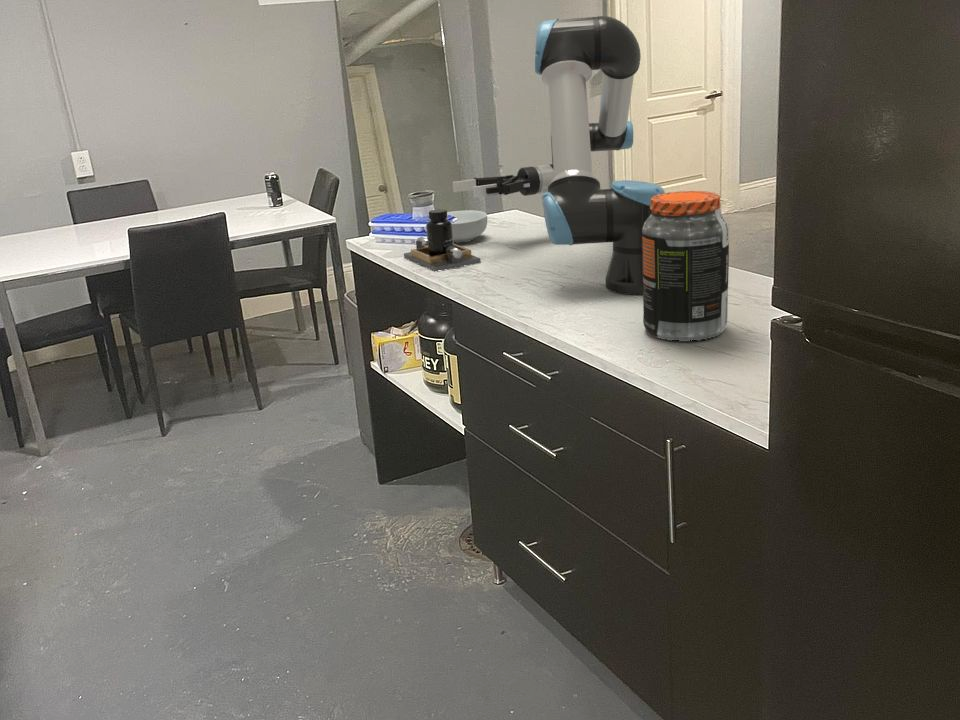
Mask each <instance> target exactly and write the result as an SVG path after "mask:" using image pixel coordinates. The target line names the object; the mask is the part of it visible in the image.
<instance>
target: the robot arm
mask: <svg viewBox="0 0 960 720" xmlns="http://www.w3.org/2000/svg"><path fill="white" fill-rule="evenodd" d="M534 54H535V56H534V73H535V74H537V75H540V76H541V82H543V83H544V85H546V86H548V96H549V98H548V100H549V114H550V142H551V143H550V144H551V149H550V150H551V163H550V164H540V165H534V166H527V167H526V166H525V167H521V168H519V170H518V171H517V174H516V175H514V174H509V175H501V176H489V177H473V179H466V180H465V179H464V180H460V181H459V180H458V181H452V190H453V193H460V192H466V191H472V193H473V194H472V195H473V198H474V199H475V198H481V197H488V196H489V197H490V196H496V195H504V196H508V195H512V194H515V193H518V192H519V193H520V194H521V195H522V196H532V195H533V196H534V195H537V194H542V195H541V199H542V200H541V202H542V208H543V214H544V215H543V216H544V222H545V226H546V231H547V234H548V238H549V241H550V242H551V243H553V245H556V246H560V245H561V246H562V245H563V246H564V245H565V246H566V245H567V246H573V245H583V244H584V245H585V244H599V243H600V244H601V243H602V244H603V243H612V255H611V258H610V262H609V263H608V264H609V265H608V268H607V271H606V275H605V288H606V289H607V290H608V291H610V292H613V293H618V294H621V295H622V294H623V295H643V251H642V229H643V225H644V223H645V221H646V220H647V218H648V217H649V216H650V215H651V213H652V211H651V209H650V206H651V198H652V197H653V196H655V195H658V194H663V193H666V192H665V189H664V188H663V187H662V186H660V184H659V185H658V184H657V183H652V182H648V181H643V180H640V181H639V180H630V179H629V180H628V179H627V180H626V179H625V180H614V181H612V183H611V185H610V188H605V189H601V183H600V182H601V181H600V180H599V179H598V178H597V177H596V176H594V175H593V165H592V152H607V151H608V152H609V151H620V150H629V149H631V148H632V147H633V145H634V124H633V123H632V121H631V120H628V119H629V111H630V105H631V100H632V99H631V97H632V91H633V84H634V76H635V75H636V74H637V72H638V71H639V70H640V69H639V68H640V65H641V63H640V62H641V59H642V58H641V57H642V56H641V48H640V45H639V41H638V40H637V38H636V36H635V34H634V33H633V31H632V30H631V29H630V28H629V27H628V26H627V24H625V23H624V22H622V21H621V20H619V19H617V18H615V17H612V16H607V15H598V16H588V17H578V18H577V17H576V18H575V17H574V18H567V19H565V18H563V19H559V18H555V19H551V20H544V21H542V22H540V23H539V24H538V27H537V30H536V38H535V53H534ZM597 70H600V71H601V73H602V78H601V89H600V104H599V115H598V122H591V123H590V121H589V120H590V119H589V107H588V91H587V82H589V80H590V79H591V77H592V76H593V71H597Z"/></svg>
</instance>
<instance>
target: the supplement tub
mask: <svg viewBox="0 0 960 720" xmlns="http://www.w3.org/2000/svg"><path fill="white" fill-rule="evenodd" d="M720 196H721V195H720V194H718V193H716V192H712V191H702V190H684V191H683V190H681V191H669V192H665V193H663V194H658V195H655V196H653V197H652V198H651V206H650V209H651V211H652V213H651V215H650V216H649V217H648V218H647V220H646V221H645V223H644V225H643V229H642V251H643V294H642V299H643V302H642V303H643V306H642V307H643V315H642V316H643V320H642V323H643V326H644V328H645V330H646V331H647V332H648V333H649V334H650V335H651V336H652V337H655V338H657V339H660V338H661V340H665V339H667V340H666V341H672V340H679V341H678V342H693V341H692V340H697V341H702V340H701V339H705V340H707V339H706V338H710V337H713V338H715V337H714V336H716V335H717V336H719V335H720V333H721V334H722V333H723V332H724V331H725V329H726V328H727V325H728V314H729V312H728V311H729V310H728V309H729V308H728V305H729V269H730V267H729V265H730V264H729V262H730V261H729V258H730V227H729V223H728V220H727V219H726V217H725V216H724V214H723V212H722V209H721V206H722V205H721V197H720ZM717 336H716V337H717ZM710 339H711V338H710ZM690 340H691V341H690Z"/></svg>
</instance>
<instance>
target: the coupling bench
mask: <svg viewBox="0 0 960 720" xmlns="http://www.w3.org/2000/svg"><path fill="white" fill-rule="evenodd" d="M453 246H454V247H452V246H449V247H448V248H447V250H446V253H447V254H442V255H437V256H429V254H428V243H427V237H424V236H420V237H418V238H417V240H416V241H415V247H416V248H414V249H411V250H410V251H409V252H404V253H403V257H404V259H405V260H406V259H407V260H408V259H409V260H408V261H410V262H413V263H415V264H417V263H418V265H420V266H422V267H424V268H426V267H427V269H428V268H430V269H429V270H431V269H432V270H431V271H433V270H434V271H433V272H435V271H437V272H439V271H438V270H442V271H444V270H443V269H447V270H449V269H448V268H452V269H456V268H455V267H457V268H460V267H459V266H462V267H465V266H464V265H467V266H471V265H470V264H472V265H476V264H475V263H477V264H480V263H482V260H481V258H480V257H478V256H475V255H473V254H472V249H470V248H467V247H464V246H461V245H459V244H458V243H453Z"/></svg>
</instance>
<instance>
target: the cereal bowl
mask: <svg viewBox="0 0 960 720" xmlns="http://www.w3.org/2000/svg"><path fill="white" fill-rule="evenodd" d="M447 215H451V216H454V217H456V218H457V221H456V223H452V233H453V242H465V243H468V242H467V241H469V242H472V241H474V239H475V238H477V237H479V236H480V235H482V234H483V233H484V232H485V231H486V228H487V226H488V214H487V213H486V212H485V211H481V210H472V209H471V210H469V209H468V210H456V211H455V210H454V211H447ZM471 240H472V241H471Z"/></svg>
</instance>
